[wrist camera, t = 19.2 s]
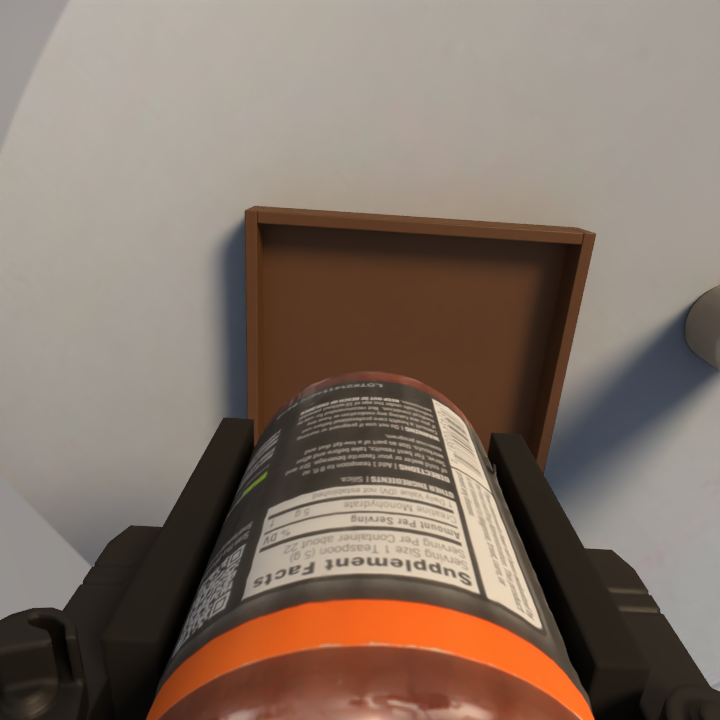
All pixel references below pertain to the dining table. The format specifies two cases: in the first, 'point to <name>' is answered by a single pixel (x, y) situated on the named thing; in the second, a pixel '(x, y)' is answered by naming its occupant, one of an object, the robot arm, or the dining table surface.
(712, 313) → the cup
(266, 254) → the walnut tray
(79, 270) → the dining table surface
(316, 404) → the supplement bottle
